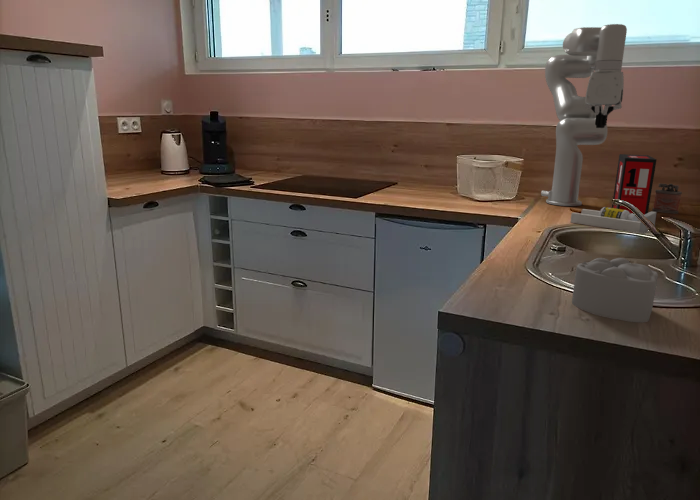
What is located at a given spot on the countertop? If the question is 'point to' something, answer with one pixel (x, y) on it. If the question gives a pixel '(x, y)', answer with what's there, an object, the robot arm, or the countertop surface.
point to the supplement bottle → (617, 214)
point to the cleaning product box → (634, 181)
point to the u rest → (611, 221)
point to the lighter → (667, 199)
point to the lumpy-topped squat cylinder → (615, 289)
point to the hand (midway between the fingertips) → (600, 127)
